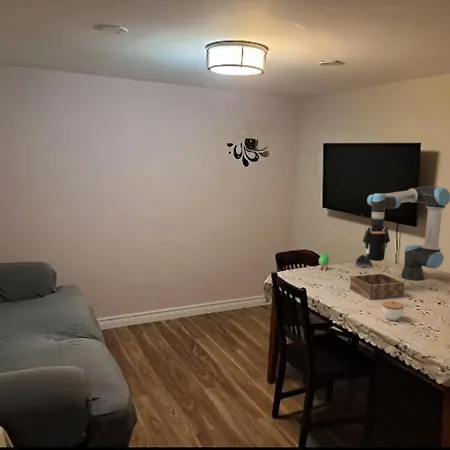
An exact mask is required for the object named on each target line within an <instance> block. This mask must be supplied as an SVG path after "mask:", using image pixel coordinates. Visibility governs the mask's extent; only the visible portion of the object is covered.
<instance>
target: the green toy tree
mask: <svg viewBox="0 0 450 450" xmlns="http://www.w3.org/2000/svg"><path fill="white" fill-rule="evenodd" d="M329 259H330V258H329V255H328V254H327V253H326V252H323V253H322V254H321V255H320V257H318V264H319V267H321V268H319V271H321V270H322V271H323V270H324V272H325V271H326V270H327V268H328V269H329V264H328V263H329Z"/></svg>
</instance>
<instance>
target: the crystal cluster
mask: <svg viewBox="0 0 450 450" xmlns="http://www.w3.org/2000/svg"><path fill="white" fill-rule="evenodd" d="M355 266H356V267H357V268H372V267H373V263H372V260H369V259H367V255H363V254H361V255H360V256H358V258H357V259H356V261H355Z"/></svg>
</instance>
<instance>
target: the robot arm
mask: <svg viewBox="0 0 450 450" xmlns="http://www.w3.org/2000/svg"><path fill="white" fill-rule="evenodd" d="M366 201H367V205H369V206H371V219H370V220H371V221H370V224H371V226H366V227H365V228H366V229H365V233H364V235H363V239H362V242H363V243H365V247H364V248H365V254H366V255H367V254H369V253H370V244H369V242H370V237H368V236H369V233H370V230H371V231H374V232H376V231H386V233H385V235H386V238H385V252H386V249H387V248H388V243H390V242H391V238H390V235H389V231H388V229H389V227H388V226H387V225H386V226H384V224H385V210H386V209H398V208H399V207H401V204H403V203H408V202H409V203H419V204H425V208H426V209H427V216H426V217H427V218H426V225H425V235H424V244H423V245H419V244H415V245H414V244H412V245H407V246H405V249H404V263H403V264H404V266H403V268H402V271H401V273H400V277H401V279H404V280H409V281H423V280H425V273H424V270H423V267H425V268H428V269H438V268H439V267H440V266H442V264H443V262H444V255H443V253H442V252H441V248H440V246H439V242H440V235H441V225H442V224H441V223H442V215H443V214H442V213H443V210H444V209H446V206H447V205H448V204H449V203H450V192H449V190H448V189H447V188H445V187H441V186H418V187H413V188H412V187H411V188H409V189H408V190H402V191H394V192H389V193H374V194H369V195H368V197H367V199H366Z"/></svg>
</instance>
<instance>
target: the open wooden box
mask: <svg viewBox="0 0 450 450" xmlns="http://www.w3.org/2000/svg"><path fill="white" fill-rule="evenodd" d="M349 290H350V291H352V292H354V293H355V294H358V295H360V296H361V297H364V298H365V299H367V300H369V301H375V300H382V299H383V300H385V299H394V298H403V297H404V293H405V282H403V281H401V280H398V279H397V278H396V279H395V278H393V277H391V276H388V275H386V274H383V273H372V274H361V275H359V274H358V275H351V276H350V281H349Z"/></svg>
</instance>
